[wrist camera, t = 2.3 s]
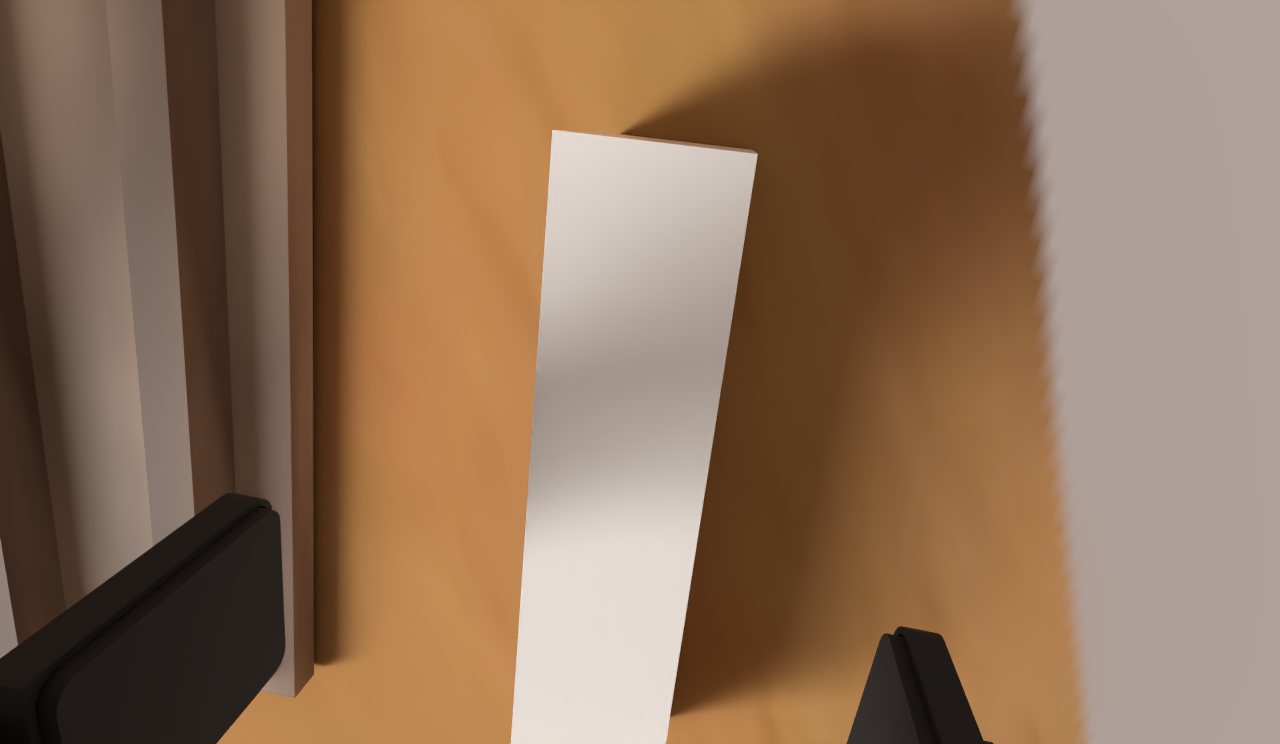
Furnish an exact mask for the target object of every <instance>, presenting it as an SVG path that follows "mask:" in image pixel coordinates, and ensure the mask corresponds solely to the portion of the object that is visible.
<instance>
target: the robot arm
mask: <svg viewBox="0 0 1280 744" xmlns="http://www.w3.org/2000/svg"><path fill="white" fill-rule="evenodd" d="M285 646H286V644H285V620H284V596H283V572H282V548H281V524H280V515H279V514H278V512H276V511H274V510H272V505H271V504H270V502H269V501H268V500H266V499H263V498H258V497H253V496H248V495H243V494H238V493H227V494H225V495H223V496H221V497H220V498H219V499H217V500H216V501H214V502H213V503H212V504H210V505H209V506H208V507H206V508H205V509H203V510H202V511H201V512H199V513H198V514H197V515H195V516H194V517H193V518H191V519H190V520H188V521H187V522H186V523H184V524H183V525H182V526H180V527H179V528H178V529H176V530H175V531H173V532H172V533H171V534H169V535H168V536H167V537H165V538H164V539H163V540H161V541H160V542H158V543H157V544H156V545H154V546H153V547H152V548H150V549H149V550H148V551H146V552H145V553H143V554H142V555H141V556H139V557H138V558H137V559H135V560H134V561H133V562H131V563H130V564H128V565H127V566H126V567H124V568H123V569H122V570H120V571H119V572H117V573H116V574H115V575H113V576H112V577H111V578H109V579H108V580H107V581H105V582H104V583H102V584H101V585H100V586H98V587H97V588H96V589H94V590H93V591H92V592H90V593H89V594H87V595H86V596H85V597H83V598H82V599H81V600H79V601H78V602H77V603H75V604H74V605H72V606H71V607H70V608H68V609H67V610H66V611H64V612H63V613H62V614H60V615H59V616H57V617H56V618H55V619H53V620H52V621H51V622H49V623H48V624H47V625H45V626H44V627H42V628H41V629H40V630H38V631H37V632H36V633H34V634H33V635H31V636H30V637H29V638H27V639H26V640H25V641H23V642H22V643H21V644H19V645H18V646H16V647H15V648H14V649H12V650H11V651H10V652H8V653H7V654H6V655H4V656H3V657H1V658H0V744H216V743H217V742H218V741H219V740H220V739H221V737H222V736H223V735H224V734H225V733H226V731H227V730H228V729H229V728H230V727H231V725H232V724H233V723H234V722H235V721H236V719H237V718H238V717H239V716H240V715H241V713H242V712H243V711H244V710H245V709H246V707H247V706H248V705H249V704H250V703H251V701H252V700H253V699H254V698H255V697H256V695H257V694H258V693H259V692H260V691H261V689H262V688H263V687H264V686H265V685H266V683H267V682H268V681H269V680H270V679H271V677H272V676H273V675H274V674H275V672H276V671H277V670H278V668H279V666H280V664H281V662H282V660H283V657H284V653H285ZM847 744H993V743H992V742H988V741H983V738H982V736H981V733H980V731H979V728H978V726H977V723H976V721H975V718H974V715H973V713H972V710H971V708H970V705H969V703H968V700H967V698H966V695H965V692H964V690H963V687H962V685H961V682H960V680H959V677H958V675H957V672H956V669H955V667H954V664H953V662H952V659H951V657H950V654H949V652H948V649H947V646H946V644H945V641H944V639H943V638H942V636H941V635H940V634H938V633H933V632H928V631H923V630H918V629H913V628H908V627H903V626H900V627H898V628H897V629H896V631H895V633H894V635H891V634H883V636H882V637H881V640H880V642H879V645H878V648H877V651H876V655H875V658H874V661H873V664H872V667H871V670H870V673H869V676H868V679H867V682H866V686H865V689H864V692H863V695H862V698H861V701H860V704H859V707H858V710H857V713H856V717H855V720H854V723H853V726H852V729H851V732H850V735H849V738H848V741H847Z"/></svg>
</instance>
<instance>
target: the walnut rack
mask: <svg viewBox="0 0 1280 744" xmlns="http://www.w3.org/2000/svg"><path fill="white" fill-rule="evenodd" d="M227 493H238V494H243V495H248V496H253V497H258V498H263V499H266V500H268V501H269V502H270V504H271V505H272V510H274V511H276V512H278V514H279V515H280V524H281V548H282V572H283V596H284V620H285V644H286V646H285V653H284V657H283V660H282V662H281V664H280V666H279V668H278V670H277V671H276V672H275V674H274V675H273V676H272V677H271V679H270V680H269V681H268V682H267V683H266V685H265V686H264V687H263V688H262V689H261V690H262V691H267V692H271V693H275V694H280V695H284V696H288V697H292V698H295V697H296V696H297V694H298V693H299V692H300V691H301V689H302V688H303V687H304V686H305V685H306V683H307V682H308V681H309V680H310V678H311V677H312V676H313V675H314V538H313V206H312V0H0V658H1V657H3V656H4V655H6V654H7V653H8V652H10V651H11V650H12V649H14V648H15V647H16V646H18V645H19V644H21V643H22V642H23V641H25V640H26V639H27V638H29V637H30V636H31V635H33V634H34V633H36V632H37V631H38V630H40V629H41V628H42V627H44V626H45V625H47V624H48V623H49V622H51V621H52V620H53V619H55V618H56V617H57V616H59V615H60V614H62V613H63V612H64V611H66V610H67V609H68V608H70V607H71V606H72V605H74V604H75V603H77V602H78V601H79V600H81V599H82V598H83V597H85V596H86V595H87V594H89V593H90V592H92V591H93V590H94V589H96V588H97V587H98V586H100V585H101V584H102V583H104V582H105V581H107V580H108V579H109V578H111V577H112V576H113V575H115V574H116V573H117V572H119V571H120V570H122V569H123V568H124V567H126V566H127V565H128V564H130V563H131V562H133V561H134V560H135V559H137V558H138V557H139V556H141V555H142V554H143V553H145V552H146V551H148V550H149V549H150V548H152V547H153V546H154V545H156V544H157V543H158V542H160V541H161V540H163V539H164V538H165V537H167V536H168V535H169V534H171V533H172V532H173V531H175V530H176V529H178V528H179V527H180V526H182V525H183V524H184V523H186V522H187V521H188V520H190V519H191V518H193V517H194V516H195V515H197V514H198V513H199V512H201V511H202V510H203V509H205V508H206V507H208V506H209V505H210V504H212V503H213V502H214V501H216V500H217V499H219V498H220V497H221V496H223V495H225V494H227Z"/></svg>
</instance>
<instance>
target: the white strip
mask: <svg viewBox="0 0 1280 744" xmlns="http://www.w3.org/2000/svg"><path fill="white" fill-rule="evenodd" d="M757 156H758V154H757V153H756V152H755V151H754V150H750V149H742V148H733V147H725V146H716V145H708V144H699V143H691V142H682V141H674V140H665V139H657V138H648V137H640V136H631V135H623V134H610V133H595V132H579V131H563V130H552V145H551V160H550V174H549V189H548V204H547V219H546V233H545V248H544V263H543V278H542V292H541V307H540V322H539V337H538V351H537V366H536V381H535V396H534V410H533V425H532V440H531V455H530V469H529V484H528V499H527V514H526V528H525V543H524V558H523V573H522V587H521V602H520V617H519V632H518V646H517V661H516V676H515V691H514V705H513V720H512V735H511V744H666V738H667V732H668V725H669V719H670V713H671V706H672V700H673V693H674V687H675V681H676V674H677V668H678V661H679V655H680V649H681V642H682V636H683V629H684V623H685V617H686V610H687V604H688V597H689V591H690V585H691V578H692V572H693V565H694V559H695V553H696V546H697V540H698V533H699V527H700V521H701V514H702V508H703V501H704V495H705V489H706V482H707V476H708V469H709V463H710V457H711V450H712V444H713V437H714V431H715V425H716V418H717V412H718V405H719V399H720V393H721V386H722V380H723V373H724V367H725V361H726V354H727V348H728V341H729V335H730V329H731V322H732V316H733V309H734V303H735V297H736V290H737V284H738V277H739V271H740V265H741V258H742V252H743V245H744V239H745V233H746V226H747V220H748V213H749V207H750V201H751V194H752V188H753V181H754V175H755V169H756V162H757Z"/></svg>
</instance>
